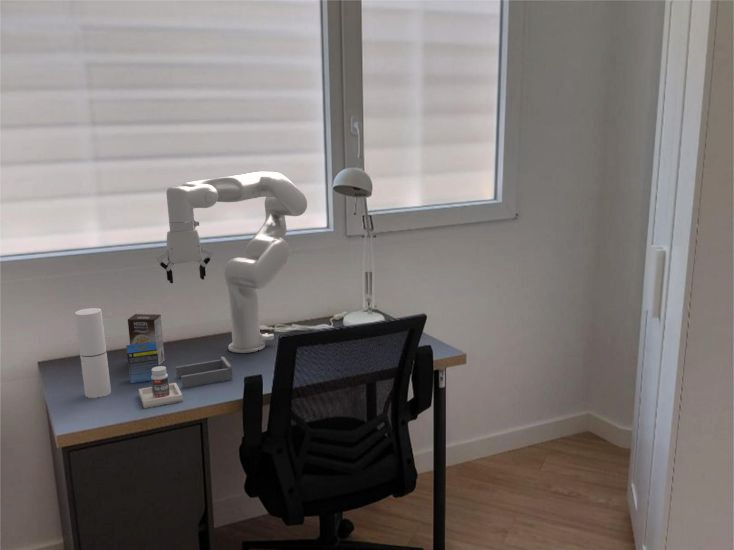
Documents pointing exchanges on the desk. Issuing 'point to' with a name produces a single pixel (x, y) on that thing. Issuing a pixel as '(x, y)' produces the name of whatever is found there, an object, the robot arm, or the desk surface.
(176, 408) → the desk surface
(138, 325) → the coffee box
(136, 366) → the label tape cartridge
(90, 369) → the cylindrical container
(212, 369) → the bay
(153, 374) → the pill bottle
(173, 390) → the tray
